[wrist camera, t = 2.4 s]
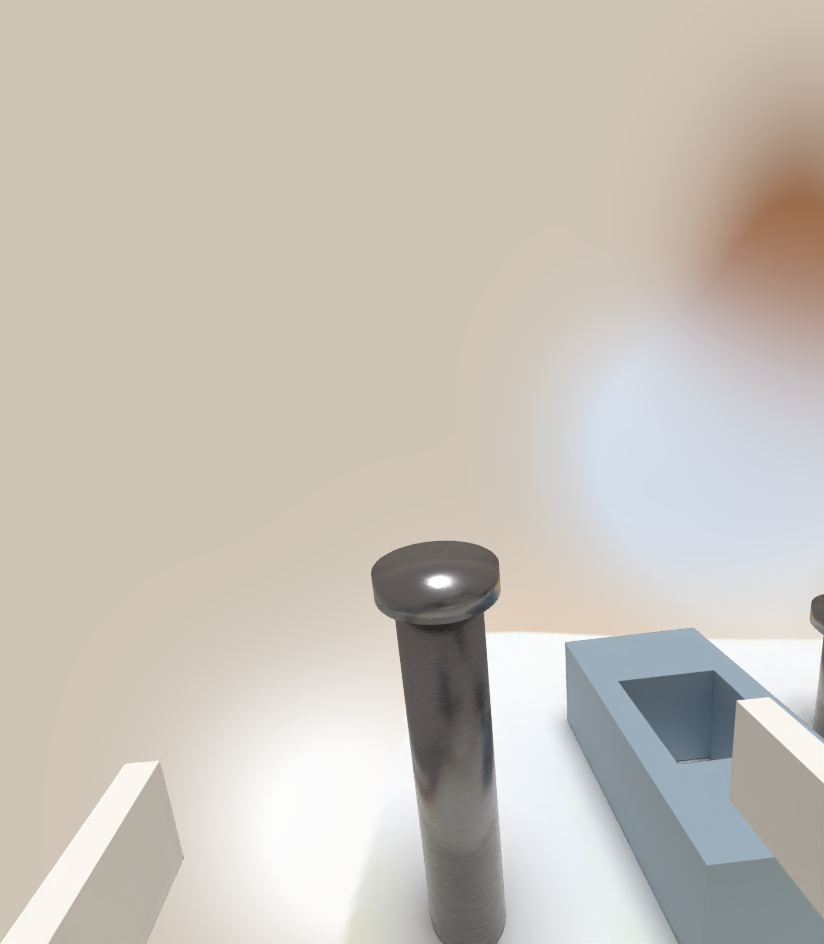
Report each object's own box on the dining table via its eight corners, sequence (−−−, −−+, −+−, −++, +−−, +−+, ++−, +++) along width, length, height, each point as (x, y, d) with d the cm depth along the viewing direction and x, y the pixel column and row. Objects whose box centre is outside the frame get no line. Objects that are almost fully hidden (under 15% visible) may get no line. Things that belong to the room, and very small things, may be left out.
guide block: (915, 958, 21) (939, 837, 19) (700, 985, 20) (706, 865, 19) (690, 705, 36) (693, 627, 35) (567, 719, 36) (565, 642, 34)
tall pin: (540, 899, 24) (523, 555, 20) (481, 1010, 20) (443, 611, 16) (457, 834, 28) (427, 533, 24) (394, 917, 24) (344, 575, 20)
